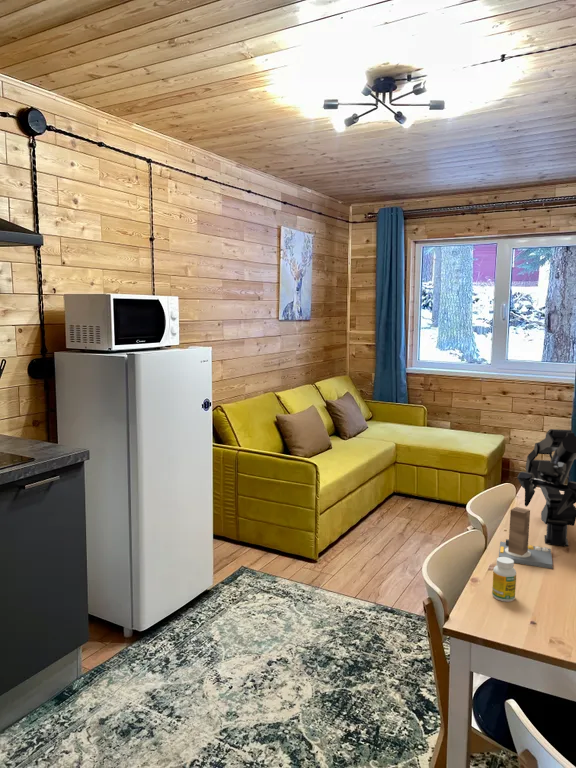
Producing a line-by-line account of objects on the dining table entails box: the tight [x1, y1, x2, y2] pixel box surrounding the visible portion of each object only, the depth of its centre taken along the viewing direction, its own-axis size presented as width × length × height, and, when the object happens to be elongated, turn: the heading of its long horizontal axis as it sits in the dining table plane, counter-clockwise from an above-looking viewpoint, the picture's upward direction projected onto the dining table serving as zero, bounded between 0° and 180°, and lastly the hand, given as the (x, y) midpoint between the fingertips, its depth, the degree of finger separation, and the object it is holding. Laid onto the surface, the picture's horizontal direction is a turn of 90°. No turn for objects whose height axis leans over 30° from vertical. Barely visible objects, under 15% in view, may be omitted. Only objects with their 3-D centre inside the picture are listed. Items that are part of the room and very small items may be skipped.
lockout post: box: [508, 506, 531, 555], centre depth 166 cm, size 4×4×12 cm
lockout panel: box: [498, 538, 553, 570], centre depth 167 cm, size 12×14×3 cm
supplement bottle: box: [491, 556, 517, 603], centre depth 142 cm, size 5×5×10 cm
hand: (541, 509), depth 167 cm, fingers open, 9 cm apart
